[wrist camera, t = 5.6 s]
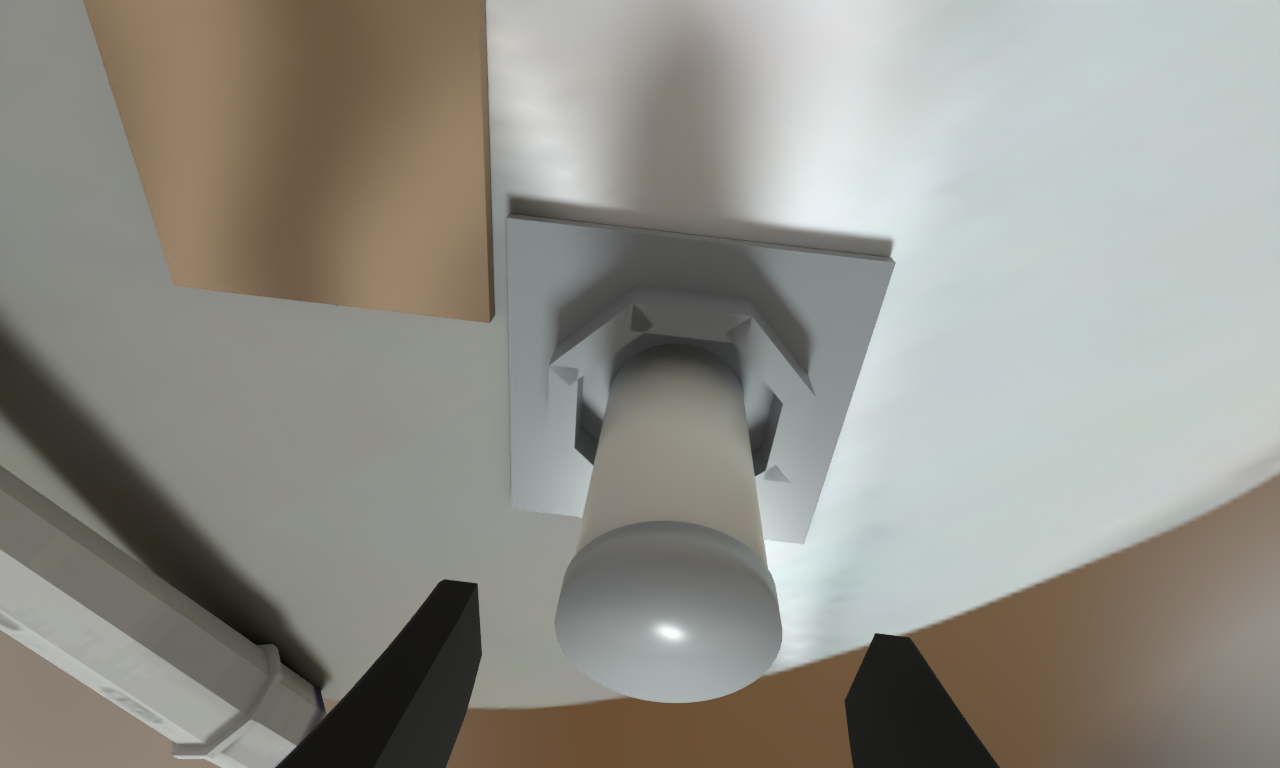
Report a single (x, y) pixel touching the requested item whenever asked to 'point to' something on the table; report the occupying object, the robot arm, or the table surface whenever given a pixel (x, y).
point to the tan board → (312, 146)
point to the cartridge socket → (682, 314)
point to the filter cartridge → (671, 539)
